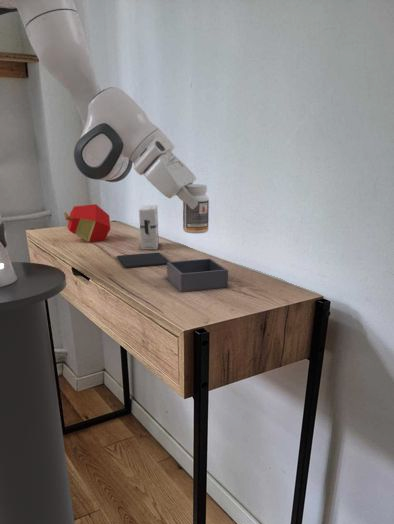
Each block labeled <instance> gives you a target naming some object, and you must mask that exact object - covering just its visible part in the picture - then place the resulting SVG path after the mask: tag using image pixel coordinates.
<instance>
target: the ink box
mask: <svg viewBox="0 0 394 524" xmlns="http://www.w3.org/2000/svg"><path fill="white" fill-rule="evenodd" d="M138 217H139V218H138V219H139V232H140V234H139V235H140V248H141V251H142V250H143V251H144V250H145V251H146V250H147V251H149V250H152V251H153V250H158V247H159V244H160V240H159V238H160V237H159V218H158V217H159V216H158V204H148V205H141V206H140V208H139V210H138Z"/></svg>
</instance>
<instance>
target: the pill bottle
mask: <svg viewBox="0 0 394 524" xmlns="http://www.w3.org/2000/svg"><path fill="white" fill-rule="evenodd" d="M185 188H186V189H187V191H188V192H189V193H190V195H191V196H192V197H194V198H195V199H196V200H197V201H198V202H199V204H198V206H197V207H195V208H194V209H191V208H190V207H189V206H188V205H187V204H186V203H185V202H183V201H182V229H183V232H185V233H187V234H205V233H207V232H208V231H209V221H210V219H209V216H210V215H209V214H210V213H209V211H210V210H209V209H210V207H209V206H210V200H209V197H208V195H207V191H208V186H207V185H206V184H199V183H198V184H197V183H195V184H194V183H193V184H189V185H186V186H185Z"/></svg>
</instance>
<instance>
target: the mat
mask: <svg viewBox="0 0 394 524" xmlns="http://www.w3.org/2000/svg"><path fill="white" fill-rule="evenodd" d="M116 257H117V259H118V260H119V261H120V262H121V264H122V265H123V266H124V267H125V268H126V269H132V268H143V267H144V268H145V267H156V266H167V262H170V261H169V260H168V259H167V258H166V257H165V256H164V255H162V254H161V252H149V253H148V252H147V253H133V254H121V255H117V256H116Z"/></svg>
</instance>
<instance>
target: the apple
mask: <svg viewBox="0 0 394 524" xmlns="http://www.w3.org/2000/svg"><path fill="white" fill-rule="evenodd" d="M63 216H64V219H65V220H66V221H67V230H68V231H69V232H70V233H72V234H74V235H75V236H77V237H79V238H80V239H82V240H84V241H85V242H87V243H94V242H100V241H101V242H102V241H105V240H106V239H107V237H108V235H109V233H110V232H111V231H110V230H111V220H110V219H111V218H110V214H108V212H106V211H105V210H104V209H102V208H101V207H100V206H99V205H98V204H97V203H95V204H86V205H85V204H84V205H74V206H73V207H72V210H71V211H70V213H69V214H68V213H67V212H64V213H63Z"/></svg>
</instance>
